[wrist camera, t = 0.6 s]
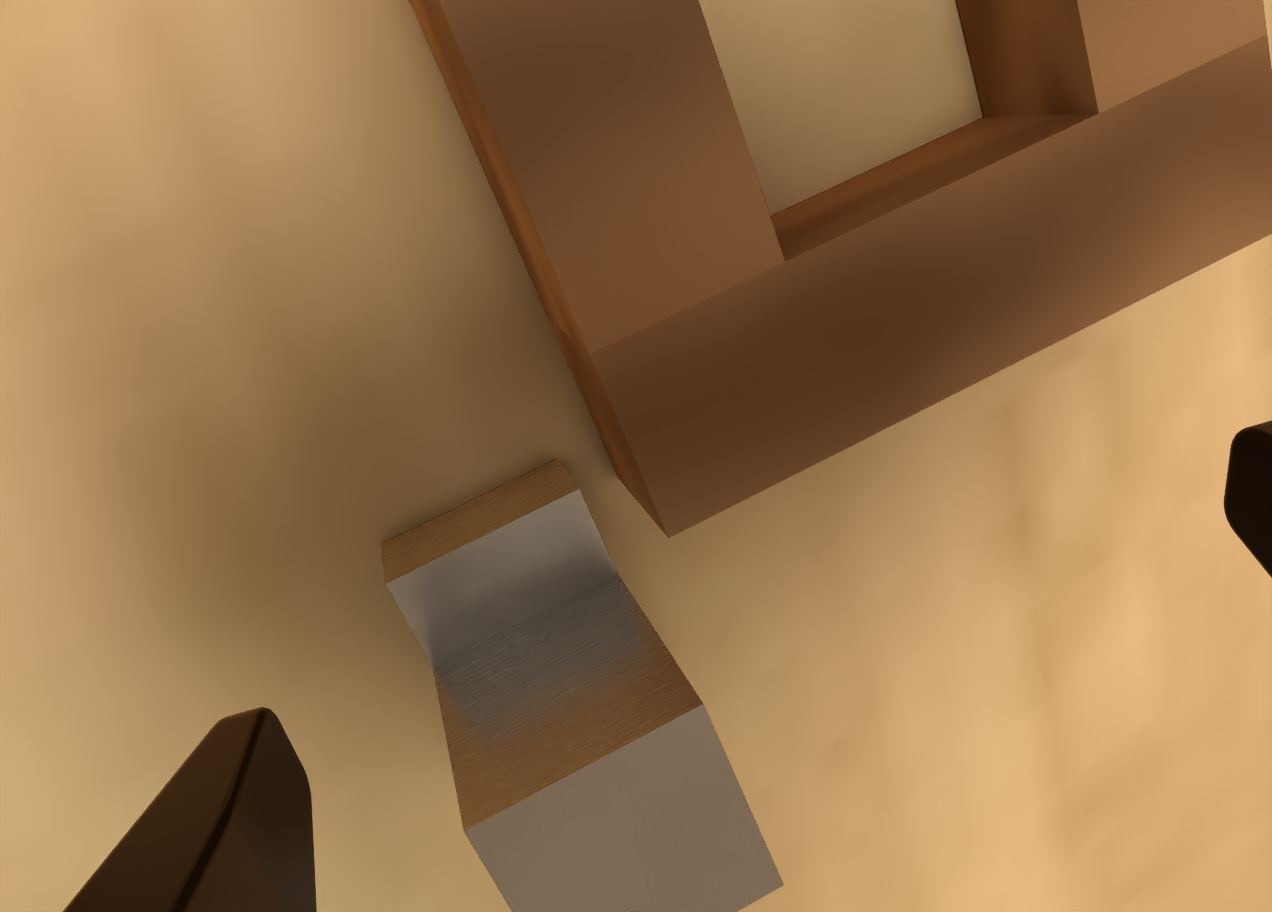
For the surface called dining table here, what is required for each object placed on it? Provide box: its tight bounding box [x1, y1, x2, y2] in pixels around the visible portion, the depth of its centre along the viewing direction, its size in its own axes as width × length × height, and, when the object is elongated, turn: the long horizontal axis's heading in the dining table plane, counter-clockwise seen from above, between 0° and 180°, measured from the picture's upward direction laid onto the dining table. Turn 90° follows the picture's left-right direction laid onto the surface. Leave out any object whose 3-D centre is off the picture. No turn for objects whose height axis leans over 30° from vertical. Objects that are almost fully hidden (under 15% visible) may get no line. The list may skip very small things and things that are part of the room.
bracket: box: [381, 458, 784, 912], centre depth 19 cm, size 6×4×7 cm, turn 22°
